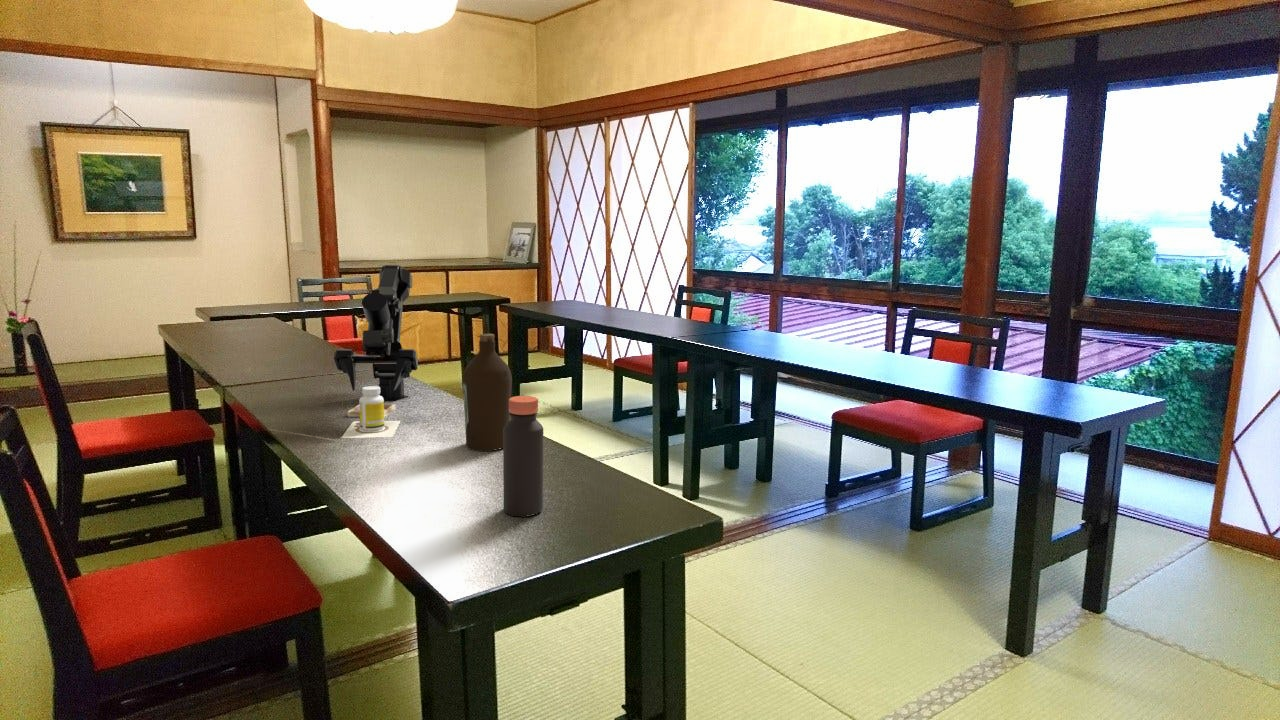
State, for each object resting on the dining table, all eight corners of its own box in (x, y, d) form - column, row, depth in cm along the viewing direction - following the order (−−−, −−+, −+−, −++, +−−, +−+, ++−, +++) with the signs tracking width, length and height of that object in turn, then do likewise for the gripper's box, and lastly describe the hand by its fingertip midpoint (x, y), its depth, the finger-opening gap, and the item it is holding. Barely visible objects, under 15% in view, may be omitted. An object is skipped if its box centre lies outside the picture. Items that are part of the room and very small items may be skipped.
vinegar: (508, 520, 127) (508, 405, 123) (499, 506, 133) (499, 395, 129) (547, 515, 129) (548, 402, 126) (536, 501, 135) (537, 393, 132)
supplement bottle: (389, 427, 178) (388, 386, 176) (372, 432, 173) (371, 391, 171) (372, 424, 180) (370, 384, 178) (354, 429, 175) (353, 388, 173)
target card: (353, 423, 182) (353, 421, 182) (400, 422, 184) (400, 420, 184) (341, 439, 168) (341, 437, 168) (392, 438, 170) (392, 436, 170)
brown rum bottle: (514, 438, 173) (514, 331, 168) (508, 453, 163) (508, 338, 158) (468, 438, 173) (466, 330, 168) (459, 452, 162) (457, 337, 158)
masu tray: (361, 409, 195) (361, 403, 195) (396, 410, 195) (395, 404, 195) (347, 418, 186) (347, 411, 186) (384, 419, 186) (383, 412, 186)
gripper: (333, 316, 178) (325, 371, 170) (415, 316, 182) (411, 371, 173) (341, 342, 187) (334, 396, 179) (419, 342, 191) (415, 395, 182)
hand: (373, 389), depth 178 cm, fingers open, 9 cm apart
